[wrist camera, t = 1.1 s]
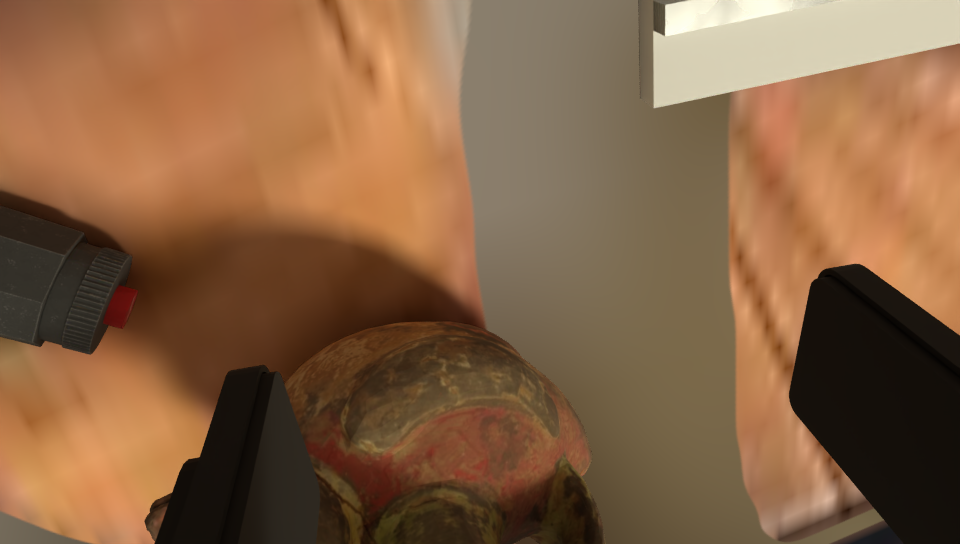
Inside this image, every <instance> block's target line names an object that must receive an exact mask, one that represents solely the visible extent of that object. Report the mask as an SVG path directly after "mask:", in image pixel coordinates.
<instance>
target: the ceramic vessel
mask: <svg viewBox="0 0 960 544" xmlns="http://www.w3.org/2000/svg"><path fill="white" fill-rule="evenodd" d="M284 385H285V388H286V391H287V393H288V396H289V399H290V402H291V405H292V408H293V411H294V414H295V417H296V419H297V422H298V425H299V428H300V431H301V434H302V437H303V440H304V443H305V445H306V448H307V451H308V454H309V457H310V460H311V463H312V466H313V468H314V471H315V474H316V477H317V480H318V484H319V491H320V507H319V517H318V528H317V539H316V544H514V543H516V542H518V541H519V540H521V539H523V538H525V537H531V538H532V539H534V540H535V541H536V542H538V543H539V544H605V537H604V530H603V525H602V521H601V517H600V514H599V511H598V508H597V506H596V503H595V501H594V499H593V497H592V495H591V493H590V491H589V489H588V487H587V485H586V483H585V481H584V480H583V478H582V477H581V476H582V475H584V474H585V473H586V471H587V469H588V467H589V465H590V462H591V460H592V451H591V449H590V446H589V443H588V440H587V436H586V433H585V430H584V427H583V425H582V423H581V421H580V419H579V417H578V415H577V414H576V412H575V410H574V408H573V407H572V405H571V404H570V402H569V401H568V400H567V398H566V397H565V396H564V395H563V394H562V392H561V391H560V390H559V389H558V387H557V386H556V385H555V384H553V383H552V382H551V381H550V380H549V379H548V378H547V377H546V376H544V375H543V374H542V373H541V372H539V371H538V370H537V369H536V368H535V367H533V366H532V365H531V364H530V363H528V362H527V361H526V360H524V359H523V358H522V357H521V356H520V354H519V353H518V352H517V351H516V350H515V349H514V348H513V347H512V346H511V345H510V344H509V343H508V342H506V341H505V340H503V339H502V338H500V337H498V336H497V335H495V334H493V333H491V332H489V331H487V330H485V329H482V328H479V327H476V326H472V325H468V324H463V323H458V322H450V321H442V322H401V323H394V324H388V325H384V326H379V327H374V328H369V329H365V330H363V331H360V332H357V333H354V334H352V335H349V336H346V337H344V338H342V339H340V340H338V341H336V342H334V343H332V344H330V345H328V346H327V347H325V348H324V349H322V350H321V351H320V352H318V353H317V354H316V355H314V356H313V357H311V358H310V359H309V360H307V361H306V362H305V363H303V364H302V365H301V366H300V367H299V368H298V369H297V370H296V371H295V373H294V374H293V375H292V376H291V377H290V378H289V379H288V380H287V381H286V383H285V384H284ZM171 495H172V493H170V494H168V495H166V496H164V497H162V498H160V499H158V500H156V501H155V502H154V503H153V504H152V505H151V508H150V513H149V514H148V515H147V517H146V519H145V525H146V528H147V530H148V531H149V532H150V534H151V536H152V538H153V540H154V541H156V538H157V535H158V532H159V529H160V527H161V524H162V521H163V518H164V515H165V512H166V509H167V507H168V504H169V501H170V498H171Z"/></svg>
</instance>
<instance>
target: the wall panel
mask: <svg viewBox="0 0 960 544" xmlns="http://www.w3.org/2000/svg"><path fill="white" fill-rule="evenodd" d="M638 3H639V60H640V99H642V100H643V101H644V102H646V103H647V104H649V105H650V106H651V107H653V108H657V107H662V106H666V105H671V104H676V103H681V102H686V101H690V100H695V99H700V98H704V97H708V96H714V95H718V94H723V93H728V92H733V91H737V90H742V89H747V88H751V87H756V86H761V85H765V84H770V83H775V82H780V81H784V80H789V79H794V78H798V77H803V76H808V75H813V74H817V73H822V72H827V71H831V70H836V69H841V68H845V67H850V66H855V65H860V64H864V63H869V62H874V61H878V60H883V59H888V58H892V57H897V56H902V55H907V54H911V53H916V52H921V51H925V50H930V49H935V48H939V47H944V46H949V45H954V44H958V43H960V0H639V1H638Z"/></svg>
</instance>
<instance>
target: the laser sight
mask: <svg viewBox="0 0 960 544" xmlns="http://www.w3.org/2000/svg"><path fill="white" fill-rule="evenodd" d="M87 243H88V242H87V239H86V237H85V234H84V232H81V231H78V230H75V229H72V228H69V227H65V226H62V225H59V224H56V223H53V222H50V221H47V220H44V219H41V218H38V217H34V216H31V215H28V214H25V213H22V212H19V211H16V210H13V209H10V208H7V207H3V206H0V337H3V338H7V339H11V340H15V341H19V342H23V343H27V344H31V345H35V346H39V347H41V346H42V344H43V343H44V342H45V341H48V342H52V343H56V344H59V345H62V347H63V348H67V349H70V350H74V351H78V352H82V353H86V354H92V353H93V352H94V351H95V349H96V348H97V346H98V345H99V343H100V341H101V339H102V337H103V336H104V333H105V332H106V329H107V327H108V325H110V326H113V327H117V328H120V329H123V327H124V326H125V324H126V322H127V320H128V318H129V315H130V313H131V311H132V308H133V306H134V303H135V300H136V297H137V294H138V290H135V289H131V288H128V287H125V284H126V281H127V278H128V274H129V271H130V267H131V262H132V255H129V254H126V253H123V252H120V251H116V250H113V249H110V248H107V247H105V248H100V247H97V246H93V245H90V244H87Z"/></svg>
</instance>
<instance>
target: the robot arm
mask: <svg viewBox="0 0 960 544" xmlns="http://www.w3.org/2000/svg"><path fill="white" fill-rule="evenodd" d="M789 399H790V404H791V406H792V409H793V411H794V412H795V414H796V415H797V416H798V417H799V419H800V420H801V421H802V422H803V423H804V425H805V426H806V427H807V428H808V429H809V431H810V432H811V433H812V434H813V435H814V436H815V438H816V439H817V440H818V441H819V442H820V444H821V445H822V446H823V447H824V448H825V450H826V451H827V452H828V453H829V454H830V456H831V457H832V458H833V459H834V460H835V462H836V463H837V464H838V465H839V466H840V468H841V469H842V470H843V471H844V472H845V474H846V475H847V476H848V477H849V478H850V480H851V481H852V482H853V483H854V484H855V486H856V487H857V488H858V489H859V490H860V492H861V493H862V494H863V495H864V496H865V498H866V499H867V500H868V501H869V502H870V504H871V505H872V506H873V507H874V508H875V510H876V511H877V512H878V513H879V514H880V516H881V517H882V518H883V519H884V520H885V522H886V523H887V524H888V525H889V526H890V528H891V529H892V530H893V531H894V532H895V534H896V535H897V536H898V537H899V538H900V540H901V541H902V542H903V543H904V544H960V335H958V334H957V333H955V332H954V331H953V330H951V329H950V328H949V327H947V326H946V325H944V324H943V323H942V322H940V321H939V320H938V319H936V318H935V317H933V316H932V315H931V314H929V313H928V312H927V311H925V310H924V309H922V308H921V307H920V306H918V305H917V304H916V303H914V302H913V301H911V300H910V299H909V298H907V297H906V296H905V295H903V294H902V293H900V292H899V291H898V290H896V289H895V288H894V287H892V286H891V285H889V284H888V283H887V282H885V281H884V280H883V279H881V278H880V277H878V276H877V275H876V274H874V273H873V272H872V271H870V270H869V269H867V268H866V267H865V266H863V265H861V264H851V265H845V266H839V267H834V268H828V269H825V270H823V271H822V272H821V273H820V274H819V276H818V279H815V280H814V281H813V282H812V283H811V286H810V290H809V295H808V300H807V305H806V310H805V315H804V321H803V326H802V331H801V336H800V341H799V346H798V351H797V356H796V361H795V366H794V371H793V376H792V381H791V386H790V391H789ZM319 507H320V491H319V484H318V480H317V477H316V474H315V471H314V468H313V466H312V463H311V460H310V457H309V454H308V451H307V448H306V445H305V443H304V440H303V437H302V434H301V431H300V428H299V425H298V422H297V419H296V417H295V414H294V411H293V408H292V405H291V402H290V399H289V396H288V393H287V391H286V388H285V385H284V382H283V379H282V377H281V374H280V373H279V372H277V371H276V372H271V373H270V372H269V370H268V368H267V367H266V366H264V365H260V366H254V367H248V368H242V369H237V370H231V371H229V372H228V373H227V375H226V378H225V381H224V384H223V387H222V390H221V393H220V396H219V399H218V402H217V406H216V409H215V412H214V415H213V418H212V421H211V424H210V427H209V430H208V434H207V437H206V440H205V443H204V446H203V449H202V452H201V455H200V457H199V458H193V459H188V460H187V461H186V462H185V463H184V464H183V466H182V468H181V470H180V472H179V475H178V478H177V481H176V484H175V487H174V489H173V492H172V495H171V498H170V501H169V504H168V507H167V509H166V512H165V515H164V518H163V521H162V524H161V527H160V529H159V532H158V535H157V538H156V541H155V544H316V539H317V528H318V517H319Z"/></svg>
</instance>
